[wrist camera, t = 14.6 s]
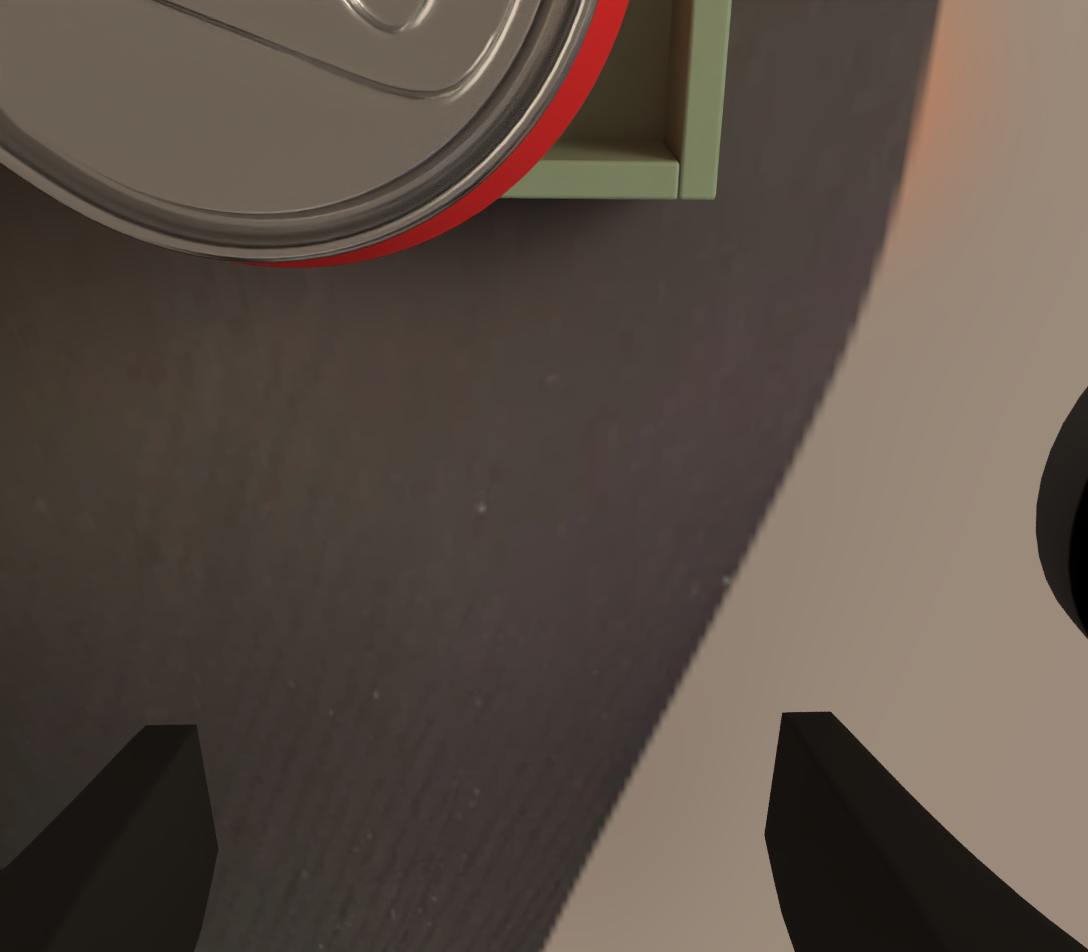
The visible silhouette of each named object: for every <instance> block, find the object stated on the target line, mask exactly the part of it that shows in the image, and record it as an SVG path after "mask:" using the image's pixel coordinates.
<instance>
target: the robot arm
mask: <svg viewBox="0 0 1088 952" xmlns="http://www.w3.org/2000/svg"><path fill="white" fill-rule="evenodd" d="M765 840H766V845H767V849H768V854H769V859H770V864H771V868H772V873H773V878H774V882H775V887H776V891H777V895H778V899H779V904H780V908H781V912H782V915H783V919H784V921H785V924H786V927H787V930H788V933H789V936H790V939H791V942H792V945H793V948H794V951H795V952H1088V949H1087V948H1086V947H1084V946H1083V945H1082V944H1080V943H1079V942H1078V941H1076V940H1075V939H1074V938H1073V937H1071V936H1070V935H1069V934H1067V933H1066V932H1065V931H1063V930H1062V929H1061V928H1060V927H1058V926H1057V925H1056V924H1054V923H1053V922H1052V921H1050V920H1049V919H1048V918H1046V917H1045V916H1044V915H1043V914H1042V913H1040V912H1039V911H1038V910H1037V909H1036V908H1034V907H1033V906H1032V905H1030V904H1029V903H1028V902H1027V901H1026V900H1024V899H1023V898H1022V897H1021V896H1020V895H1019V894H1017V893H1016V892H1015V891H1014V890H1013V889H1012V888H1011V887H1009V886H1008V885H1007V884H1006V883H1005V882H1004V881H1002V880H1001V879H1000V878H999V877H998V876H997V875H995V873H993V872H992V871H991V870H990V869H989V868H988V867H987V866H985V865H984V864H983V863H982V862H981V861H980V860H978V859H977V858H976V857H975V856H974V855H973V854H972V853H971V852H970V851H968V849H966V848H965V847H964V846H963V845H962V844H961V843H960V842H959V841H958V840H957V839H956V838H955V837H954V836H953V835H952V834H950V832H948V831H947V830H946V829H945V828H944V827H943V826H942V825H941V824H940V823H939V822H938V821H937V820H936V819H935V818H934V817H933V816H932V815H931V814H930V813H929V812H928V811H927V810H926V809H925V808H924V807H923V806H922V805H921V804H920V803H919V802H918V801H917V800H916V799H915V798H914V797H913V796H912V795H911V794H909V792H908V791H907V790H906V789H905V788H904V787H903V786H902V785H901V784H900V783H899V782H898V781H897V780H896V779H895V778H894V777H893V776H892V775H891V774H890V773H889V772H888V771H887V770H886V769H885V768H884V767H883V766H882V764H881V763H880V762H879V761H878V760H877V759H876V758H875V757H874V756H873V755H872V754H871V753H870V752H869V751H868V750H867V749H866V748H865V747H864V746H863V745H862V744H861V743H860V741H859V740H858V739H857V738H855V736H854V735H853V734H852V733H851V732H850V731H849V730H848V729H847V728H846V727H845V726H844V725H843V724H842V723H841V722H840V721H839V720H838V719H837V718H836V717H835V716H834V715H833V714H832V713H831V712H788V713H787V712H786V713H782V718H781V725H780V732H779V739H778V745H777V752H776V759H775V766H774V773H773V780H772V786H771V793H770V800H769V807H768V814H767V821H766V827H765ZM217 853H218V845H217V839H216V834H215V828H214V822H213V817H212V811H211V805H210V799H209V794H208V788H207V782H206V777H205V771H204V765H203V760H202V754H201V748H200V743H199V737H198V731H197V725H148V726H145V727H144V728H143V729H141V730H140V731H139V732H138V733H137V734H136V735H135V736H134V737H133V738H132V739H131V740H130V741H129V742H128V743H127V744H126V745H125V746H124V748H123V749H122V750H121V751H120V752H119V753H118V754H117V755H116V756H115V757H114V758H113V759H112V760H111V761H110V762H109V763H108V764H107V765H106V766H105V767H104V768H103V770H102V771H101V772H100V773H99V774H98V775H97V776H96V777H95V778H94V779H93V780H92V781H91V782H90V783H89V784H88V785H87V786H86V787H85V788H84V789H83V790H82V791H81V792H80V794H79V795H78V796H77V797H76V798H75V799H74V800H73V801H72V802H71V803H70V804H69V805H68V806H67V807H66V808H65V809H64V810H63V811H62V812H61V813H60V814H59V815H58V816H57V817H56V818H55V819H54V820H53V821H52V822H51V823H50V824H49V825H48V826H47V827H46V828H45V829H44V830H43V831H42V832H41V833H40V834H39V835H38V836H37V837H36V838H35V839H34V840H33V841H32V842H31V843H30V844H29V845H28V846H27V847H26V848H25V849H24V850H23V851H22V852H21V853H20V854H19V855H18V856H17V857H16V858H15V859H14V860H13V861H12V862H11V863H10V864H9V865H8V866H6V867H5V868H4V869H3V870H2V871H1V872H0V952H194V950H195V947H196V944H197V941H198V938H199V935H200V932H201V928H202V923H203V919H204V914H205V910H206V905H207V901H208V897H209V892H210V887H211V882H212V877H213V872H214V867H215V863H216V858H217Z"/></svg>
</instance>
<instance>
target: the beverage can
mask: <svg viewBox="0 0 1088 952" xmlns="http://www.w3.org/2000/svg"><path fill="white" fill-rule="evenodd" d="M628 2H629V0H0V164H2V165H3V166H5V167H6V168H7V169H9V170H10V171H12V172H13V173H15V174H16V175H18V176H19V177H20V178H22V179H23V180H25V181H26V182H28V183H29V184H31V185H32V186H34V187H36V188H37V189H39V190H40V191H42V192H43V193H45V194H47V195H48V196H50V197H51V198H53V199H55V200H56V201H58V202H60V203H61V204H63V205H65V206H66V207H68V208H70V209H72V210H74V211H75V212H77V213H79V214H81V215H83V216H84V217H86V218H88V219H90V220H92V221H94V222H97V223H99V224H101V225H103V226H105V227H107V228H109V229H112V230H114V231H116V232H119V233H121V234H124V235H126V236H129V237H132V238H134V239H137V240H139V241H142V242H145V243H148V244H152V245H155V246H158V247H161V248H164V249H168V250H172V251H176V252H180V253H184V254H189V255H193V256H198V257H204V258H210V259H217V260H223V261H231V262H237V263H243V264H250V265H257V266H270V267H285V268H310V267H323V266H336V265H342V264H348V263H355V262H361V261H365V260H369V259H374V258H378V257H382V256H386V255H389V254H392V253H395V252H398V251H401V250H405V249H408V248H411V247H413V246H415V245H418V244H420V243H423V242H425V241H427V240H430V239H432V238H435V237H437V236H439V235H440V234H442V233H444V232H446V231H448V230H450V229H452V228H454V227H456V226H458V225H460V224H461V223H463V222H464V221H466V220H468V219H469V218H471V217H472V216H474V215H476V214H477V213H479V212H480V211H482V210H483V209H485V208H486V207H487V206H489V205H490V204H491V203H493V202H494V201H495V200H497V199H498V198H499V197H501V196H502V195H503V194H505V193H506V192H507V191H508V190H509V189H510V188H511V187H513V186H514V185H515V184H516V183H517V182H518V181H519V180H521V179H522V178H523V177H524V176H525V175H526V174H527V173H528V172H529V171H530V170H531V169H532V168H533V167H534V166H535V165H536V164H537V163H538V162H539V160H540V159H541V158H542V157H543V156H544V155H545V154H546V153H547V152H548V150H549V149H550V148H551V147H552V146H553V144H554V143H555V142H556V141H557V140H558V138H559V137H560V136H561V135H562V133H563V132H564V131H565V129H566V128H567V126H568V125H569V123H570V122H571V121H572V119H573V118H574V116H575V115H576V114H577V112H578V111H579V109H580V108H581V106H582V104H583V103H584V101H585V99H586V97H587V96H588V94H589V92H590V91H591V89H592V87H593V86H594V84H595V82H596V80H597V78H598V76H599V74H600V72H601V70H602V68H603V66H604V64H605V62H606V60H607V58H608V56H609V54H610V51H611V49H612V46H613V44H614V41H615V39H616V37H617V34H618V32H619V29H620V27H621V24H622V21H623V18H624V15H625V12H626V9H627V5H628Z"/></svg>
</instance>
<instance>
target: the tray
mask: <svg viewBox="0 0 1088 952" xmlns="http://www.w3.org/2000/svg"><path fill="white" fill-rule="evenodd" d="M731 5H732V0H629V2H628V5H627V9H626V12H625V15H624V18H623V21H622V24H621V27H620V29H619V32H618V34H617V37H616V39H615V41H614V44H613V46H612V49H611V51H610V54H609V56H608V58H607V60H606V62H605V64H604V66H603V68H602V70H601V72H600V74H599V76H598V78H597V80H596V82H595V84H594V86H593V87H592V89H591V91H590V92H589V94H588V96H587V97H586V99H585V101H584V103H583V104H582V106H581V108H580V109H579V111H578V112H577V114H576V115H575V116H574V118H573V119H572V121H571V122H570V123H569V125H568V126H567V128H566V129H565V131H564V132H563V133H562V135H561V136H560V137H559V138H558V140H557V141H556V142H555V143H554V144H553V146H552V147H551V148H550V149H549V150H548V152H547V153H546V154H545V155H544V156H543V157H542V158H541V159H540V160H539V162H538V163H537V164H536V165H535V166H534V167H533V168H532V169H531V170H530V171H529V172H528V173H527V174H526V175H525V176H524V177H523V178H522V179H521V180H519V181H518V182H517V183H516V184H515V185H514V186H513V187H511V188H510V189H509V190H508V191H507V192H506V193H505V194H503V195H502V196H501V197H499V198H535V199H628V200H674V199H676V198H677V196H678V198H679V199H681V200H713V199H714V198H715V196H716V186H717V174H718V162H719V150H720V138H721V126H722V114H723V102H724V89H725V77H726V65H727V53H728V41H729V29H730V17H731Z"/></svg>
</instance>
